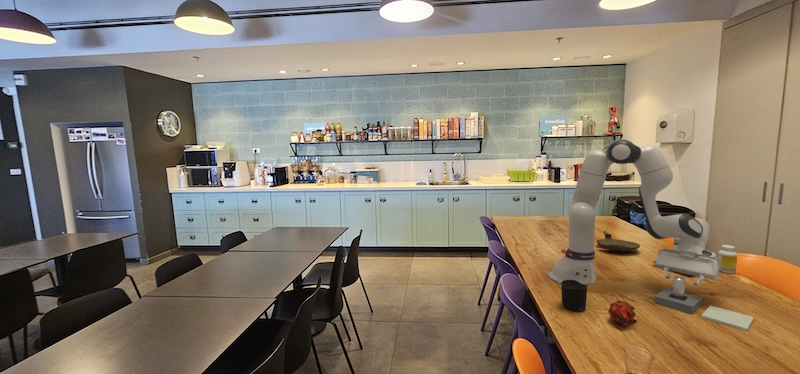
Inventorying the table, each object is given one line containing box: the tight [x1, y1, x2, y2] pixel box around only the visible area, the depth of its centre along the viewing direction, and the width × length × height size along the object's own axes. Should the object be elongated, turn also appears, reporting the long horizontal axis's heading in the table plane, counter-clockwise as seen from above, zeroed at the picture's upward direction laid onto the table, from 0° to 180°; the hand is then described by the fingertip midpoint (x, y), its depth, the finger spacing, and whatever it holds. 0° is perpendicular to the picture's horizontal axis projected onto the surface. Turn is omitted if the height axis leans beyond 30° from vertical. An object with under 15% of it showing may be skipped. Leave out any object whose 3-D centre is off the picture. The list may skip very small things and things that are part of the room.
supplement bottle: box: [717, 244, 738, 274], centre depth 164 cm, size 7×7×13 cm
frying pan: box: [596, 230, 641, 252], centre depth 205 cm, size 22×30×8 cm
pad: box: [701, 305, 755, 331], centre depth 123 cm, size 12×12×1 cm
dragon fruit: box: [607, 300, 638, 326], centre depth 123 cm, size 8×8×12 cm
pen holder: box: [560, 280, 588, 313], centre depth 136 cm, size 9×9×10 cm
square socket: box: [654, 287, 703, 315], centre depth 135 cm, size 12×12×3 cm
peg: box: [672, 275, 686, 301], centre depth 135 cm, size 4×4×11 cm
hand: (681, 281), depth 136 cm, fingers open, 8 cm apart
